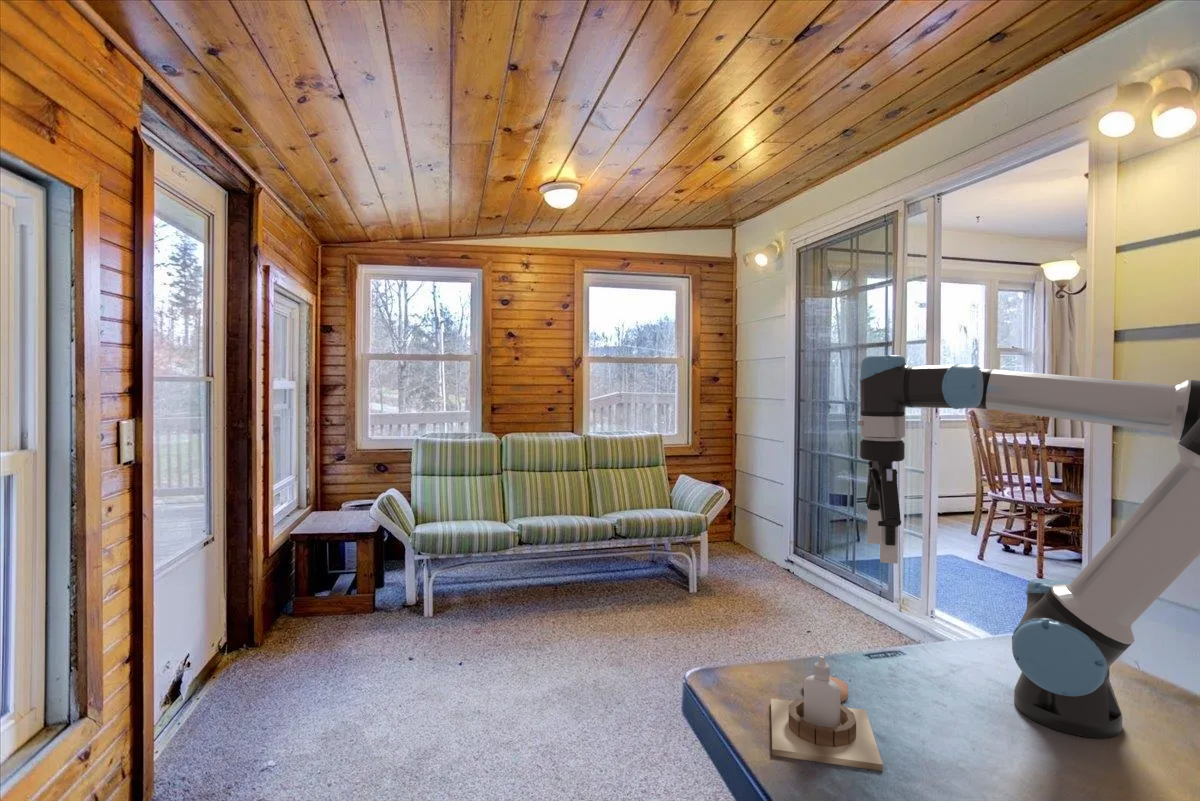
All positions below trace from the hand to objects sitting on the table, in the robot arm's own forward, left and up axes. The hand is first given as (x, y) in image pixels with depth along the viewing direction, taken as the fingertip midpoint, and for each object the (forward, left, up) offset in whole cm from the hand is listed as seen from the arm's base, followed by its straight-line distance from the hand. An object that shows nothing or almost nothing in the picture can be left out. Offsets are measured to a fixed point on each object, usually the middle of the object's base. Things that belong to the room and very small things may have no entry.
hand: (881, 552), depth 115 cm
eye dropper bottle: (+12, +17, -26) cm, 33 cm away
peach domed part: (+10, +2, -27) cm, 29 cm away
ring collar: (+12, +17, -27) cm, 34 cm away
